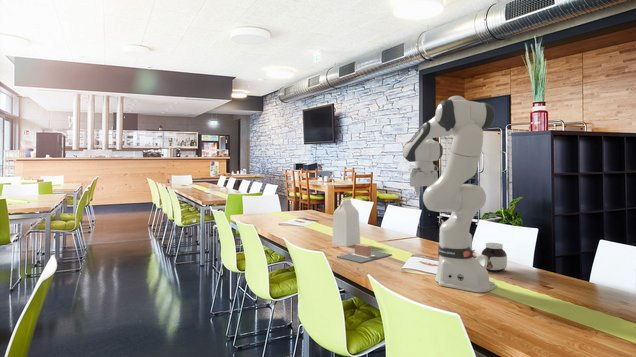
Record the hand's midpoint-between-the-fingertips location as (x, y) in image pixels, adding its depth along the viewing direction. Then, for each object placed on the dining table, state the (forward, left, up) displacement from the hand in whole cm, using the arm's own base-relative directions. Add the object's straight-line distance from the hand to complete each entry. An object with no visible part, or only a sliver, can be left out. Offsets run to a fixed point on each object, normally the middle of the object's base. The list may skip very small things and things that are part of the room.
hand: (423, 195), depth 201 cm
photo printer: (-12, -17, -31) cm, 38 cm away
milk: (+48, +6, -31) cm, 58 cm away
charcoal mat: (+20, +22, -31) cm, 43 cm away
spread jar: (-35, +2, -31) cm, 47 cm away
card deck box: (+25, +22, -28) cm, 44 cm away
